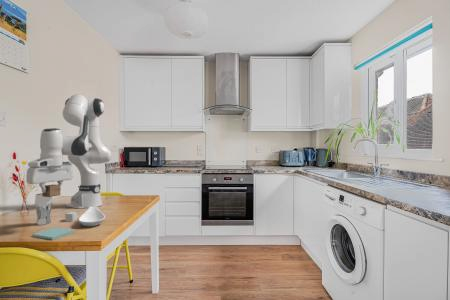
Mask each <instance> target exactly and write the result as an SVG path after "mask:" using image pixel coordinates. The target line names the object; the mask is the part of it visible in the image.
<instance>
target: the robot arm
mask: <svg viewBox="0 0 450 300" xmlns="http://www.w3.org/2000/svg"><path fill="white" fill-rule="evenodd" d="M104 111H105V103H104V101H103V100H102V99H100V98H96V97H95V98H94V97H87V96H85V95H83V94H73V95H72V96H70V97H69V98H67V99H66V100H65V102H64V107H63V110H62V117H63V119H64V120H65V122H67V123H68V124H70V125H72V126H74V127H79V131H78V135H75V136H72V135H70V136H64V135H63V134H62V130H61V129H60V128H53V127H52V128H44V129H42V130H41V134H40V138H39V139H40V140H39V146H40V148H39V149H40V155H39V158H37V159H34V160H32V161H29V162H27V166H28V168H27V170H26V175H25V176H26V183H27V184H28V185H34V184H35V185H37V184H38V186H39V187H40V188H41V193H45V192H48V191H47V190H48V188H45V185H46V184H47V183H53V182H57V185H60V191H61V190H62V189H61V188H62V186H63V184H64V181H72V180H73V178H74V172H73V171H74V170H73V168H72V167H73V165H74V166H75V167H76V168H77V170H78V171H79V174H80V185H78V187H77V188H78V191H77V192H76V193H74V194H73V195H72V196H71V198H70V203H68V204H66V207H69V208H73V209H88V208H89V207H90V206H91V207H95V206H97V207H100V206H102V205H103V201H102V193H101V184H100V183H101V179H100V178H101V177H100V176H101V175H100V172H99V171H98V170H97V169H95V168H93V167H91V166H90V165H91V164H92V165H95V164H96V165H97V164H107V163H109V162H110V161H111V160H112V156H113V155H112V151H111V150H110V149H109V148H108V147H107V146H105V145H104V143H103V142H102V139H101V133H100V126H101V125H100V117H101V115H102V114H104ZM90 145H91V146H90ZM63 156H67V159H68V161H64V160H63V159H64V158H63Z"/></svg>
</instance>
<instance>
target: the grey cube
mask: <svg viewBox="0 0 450 300" xmlns="http://www.w3.org/2000/svg"><path fill="white" fill-rule="evenodd" d="M78 213H79V212H78V211H70V212H67V213H65V216H64V220H65V222H67V223H68V222H70V223H71V222H72V223H73V222H75V221H77V220H78V219H79V218H78V217H79V216H78V215H79V214H78Z"/></svg>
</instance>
